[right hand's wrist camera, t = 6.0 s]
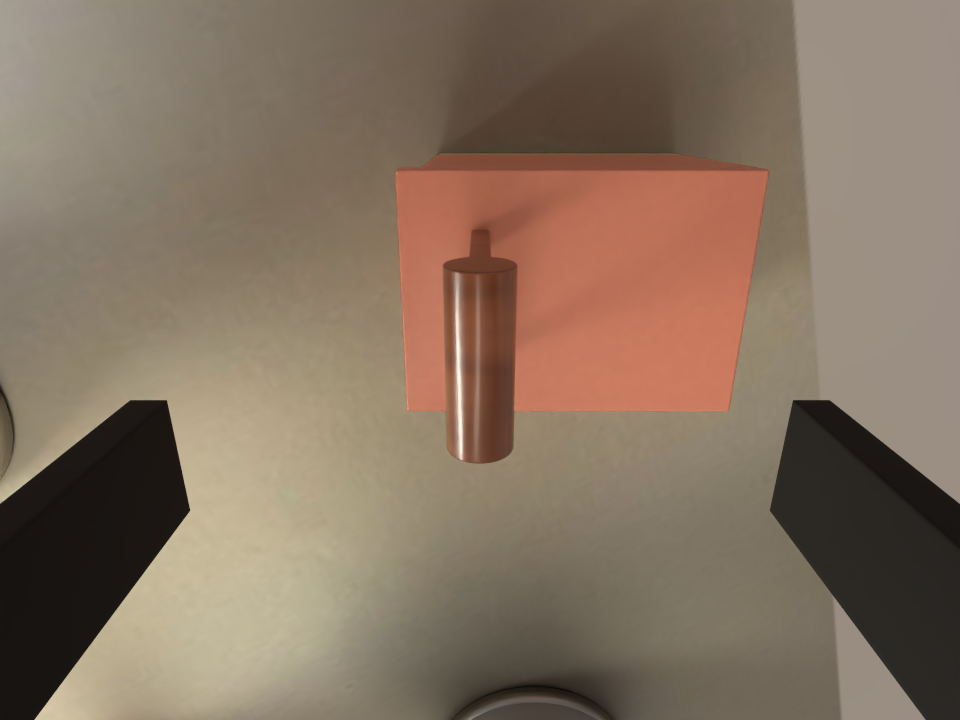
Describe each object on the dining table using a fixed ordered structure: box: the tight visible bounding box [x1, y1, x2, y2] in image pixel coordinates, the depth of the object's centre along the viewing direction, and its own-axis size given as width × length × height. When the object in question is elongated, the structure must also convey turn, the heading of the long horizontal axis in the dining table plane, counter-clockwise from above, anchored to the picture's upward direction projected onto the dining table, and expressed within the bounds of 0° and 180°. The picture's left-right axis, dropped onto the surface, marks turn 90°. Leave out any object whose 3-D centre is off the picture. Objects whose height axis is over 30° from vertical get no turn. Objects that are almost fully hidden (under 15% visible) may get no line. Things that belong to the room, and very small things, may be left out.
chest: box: [421, 153, 756, 168], centre depth 30 cm, size 13×10×11 cm
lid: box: [395, 168, 769, 463], centre depth 21 cm, size 14×10×9 cm
